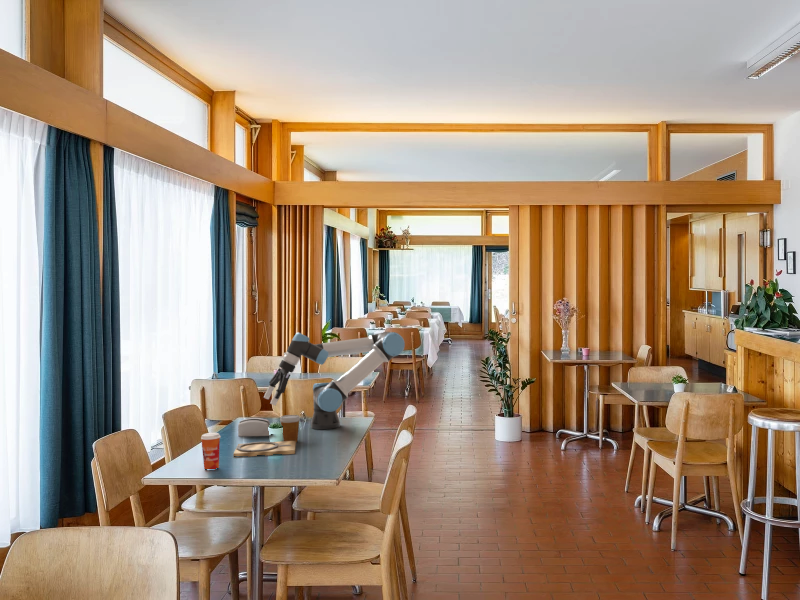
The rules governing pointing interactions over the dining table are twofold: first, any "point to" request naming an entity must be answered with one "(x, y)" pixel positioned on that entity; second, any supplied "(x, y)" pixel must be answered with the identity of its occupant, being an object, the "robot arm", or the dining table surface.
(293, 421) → the disposable coffee cup
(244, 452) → the wooden board
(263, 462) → the dining table surface
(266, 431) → the napkin holder
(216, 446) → the paper cup
